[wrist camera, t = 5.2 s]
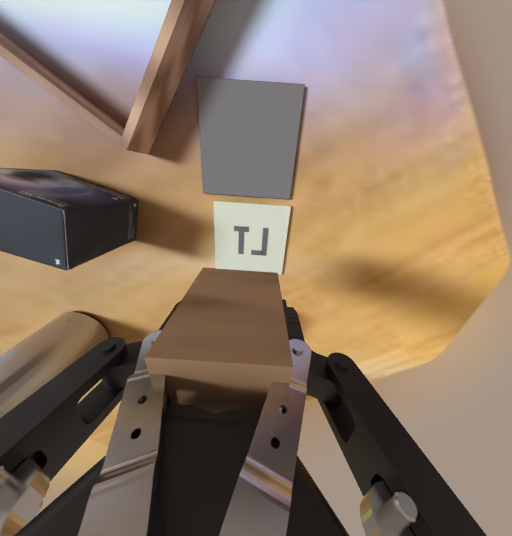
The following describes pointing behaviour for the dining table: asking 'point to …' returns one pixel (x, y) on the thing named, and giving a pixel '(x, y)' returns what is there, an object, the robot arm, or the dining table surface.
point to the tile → (250, 236)
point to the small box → (61, 217)
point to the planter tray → (153, 84)
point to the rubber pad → (248, 136)
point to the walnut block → (224, 342)
